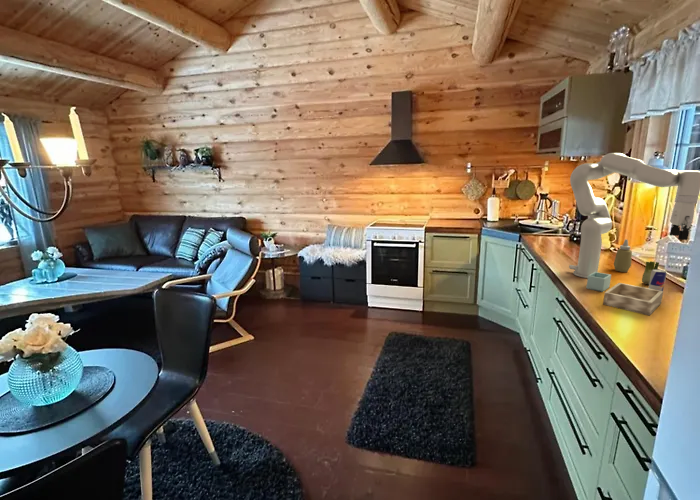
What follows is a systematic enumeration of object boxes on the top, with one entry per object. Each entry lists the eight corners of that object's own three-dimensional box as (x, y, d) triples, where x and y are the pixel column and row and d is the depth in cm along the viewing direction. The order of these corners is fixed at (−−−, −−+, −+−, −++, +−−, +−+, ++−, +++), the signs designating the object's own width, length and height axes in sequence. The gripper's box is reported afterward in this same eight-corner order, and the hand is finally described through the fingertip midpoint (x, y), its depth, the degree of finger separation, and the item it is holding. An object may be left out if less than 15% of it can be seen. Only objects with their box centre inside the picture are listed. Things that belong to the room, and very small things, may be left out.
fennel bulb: (655, 284, 192) (659, 261, 189) (655, 286, 188) (660, 263, 185) (640, 282, 195) (644, 259, 192) (641, 284, 191) (645, 261, 188)
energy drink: (658, 298, 172) (663, 273, 169) (644, 294, 177) (649, 270, 174) (664, 296, 174) (669, 271, 172) (650, 293, 179) (655, 268, 176)
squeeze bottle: (630, 273, 209) (636, 241, 205) (612, 271, 213) (617, 240, 209) (629, 270, 216) (634, 239, 212) (612, 268, 220) (617, 237, 216)
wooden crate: (602, 304, 165) (604, 292, 164) (617, 293, 178) (618, 282, 177) (649, 315, 153) (651, 302, 152) (661, 303, 166) (663, 291, 165)
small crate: (586, 288, 186) (588, 275, 184) (593, 284, 192) (595, 271, 191) (602, 292, 181) (604, 278, 179) (609, 287, 187) (611, 274, 186)
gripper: (668, 197, 176) (661, 233, 180) (683, 201, 161) (675, 240, 165) (688, 197, 173) (680, 234, 177) (706, 201, 158) (697, 242, 162)
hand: (678, 237), depth 171 cm, fingers open, 9 cm apart
